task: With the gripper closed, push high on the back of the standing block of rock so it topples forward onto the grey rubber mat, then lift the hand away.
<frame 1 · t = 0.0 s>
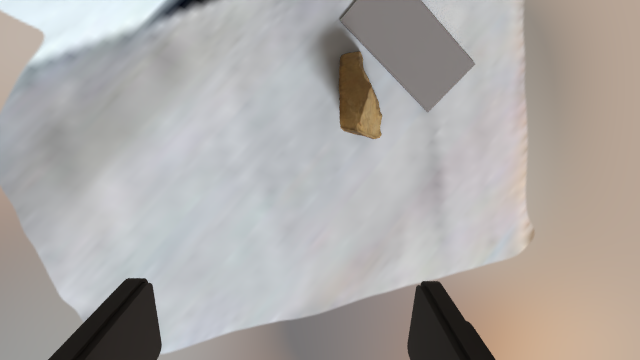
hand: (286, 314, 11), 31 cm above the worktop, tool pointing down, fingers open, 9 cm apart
rock: (360, 95, 39), on the worktop
rubber mat: (408, 43, 37), on the worktop
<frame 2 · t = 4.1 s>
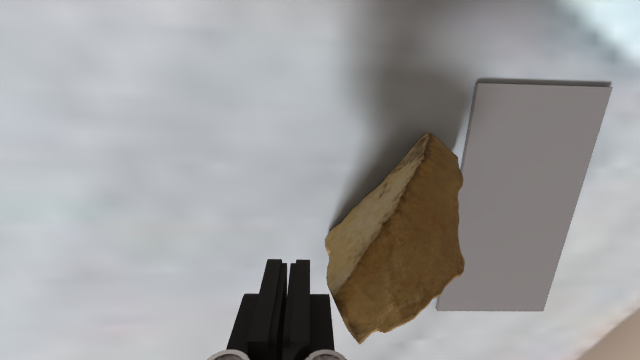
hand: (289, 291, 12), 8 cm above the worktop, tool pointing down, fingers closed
rock: (386, 207, 20), on the worktop, touching gripper
rubber mat: (512, 210, 20), on the worktop
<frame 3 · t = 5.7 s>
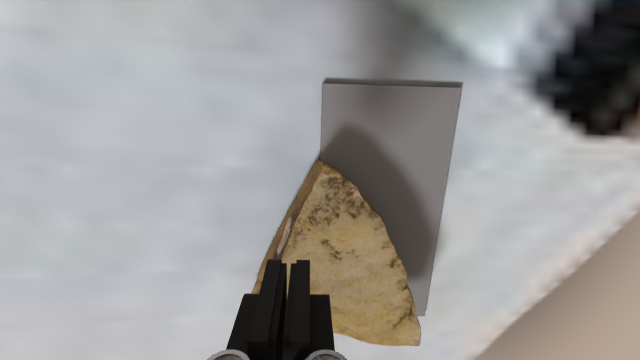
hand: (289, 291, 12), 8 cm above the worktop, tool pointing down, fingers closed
rock: (275, 239, 17), point 2 cm above the worktop, touching rubber mat
rubber mat: (379, 213, 20), on the worktop
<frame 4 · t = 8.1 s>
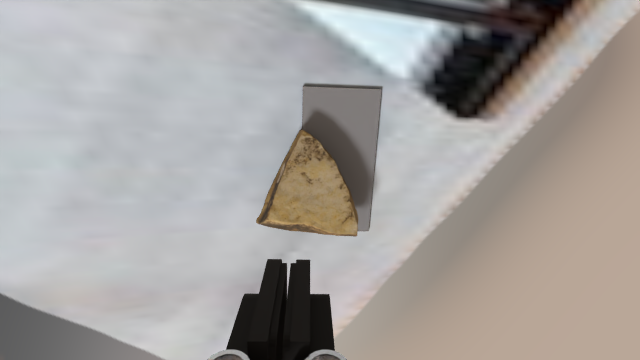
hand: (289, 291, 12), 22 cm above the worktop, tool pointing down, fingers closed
rock: (276, 175, 31), point 2 cm above the worktop, touching rubber mat
rubber mat: (338, 163, 33), on the worktop
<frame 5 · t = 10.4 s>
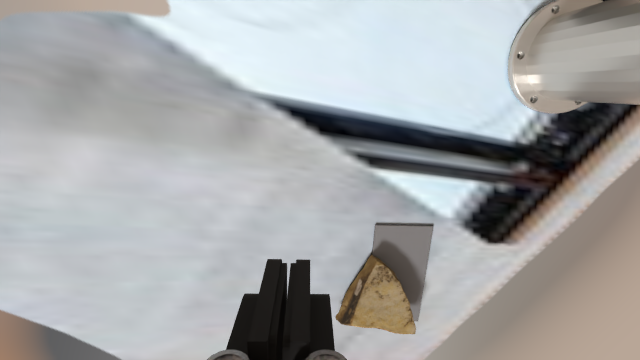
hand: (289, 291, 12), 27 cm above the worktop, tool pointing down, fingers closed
rock: (354, 289, 41), point 2 cm above the worktop, touching rubber mat
rubber mat: (397, 274, 43), on the worktop
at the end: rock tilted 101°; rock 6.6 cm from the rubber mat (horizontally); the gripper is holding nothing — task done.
